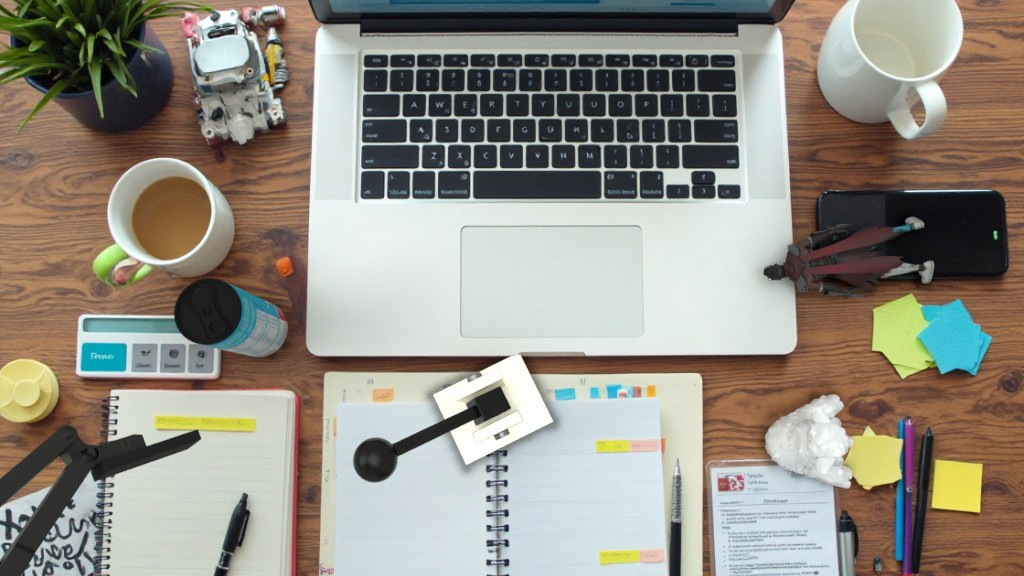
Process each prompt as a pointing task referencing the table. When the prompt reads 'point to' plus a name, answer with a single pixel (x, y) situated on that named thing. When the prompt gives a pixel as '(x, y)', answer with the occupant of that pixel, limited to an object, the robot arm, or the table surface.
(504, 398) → the switch
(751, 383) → the table surface
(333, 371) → the table surface
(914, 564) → the table surface
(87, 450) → the robot arm
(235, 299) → the beverage can
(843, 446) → the sitting furry creature
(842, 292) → the action figure
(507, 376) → the white c-shaped piece
